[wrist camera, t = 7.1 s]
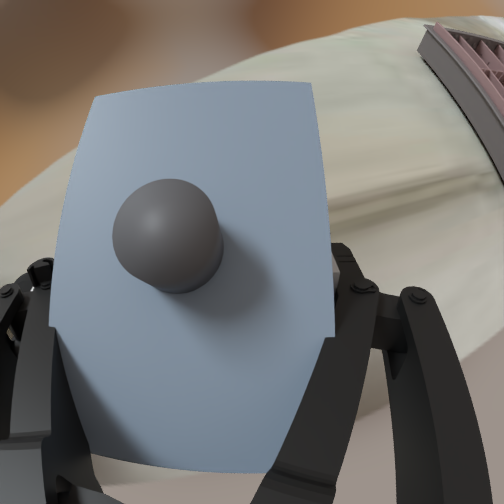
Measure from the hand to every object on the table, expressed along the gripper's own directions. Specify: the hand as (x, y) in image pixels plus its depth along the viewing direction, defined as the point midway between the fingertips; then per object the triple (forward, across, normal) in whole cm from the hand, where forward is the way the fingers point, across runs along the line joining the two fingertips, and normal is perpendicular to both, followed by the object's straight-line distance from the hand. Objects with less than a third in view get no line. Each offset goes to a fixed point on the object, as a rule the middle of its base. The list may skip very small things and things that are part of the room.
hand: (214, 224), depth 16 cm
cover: (0, 0, -5) cm, 5 cm away
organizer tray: (+36, +56, +10) cm, 67 cm away
